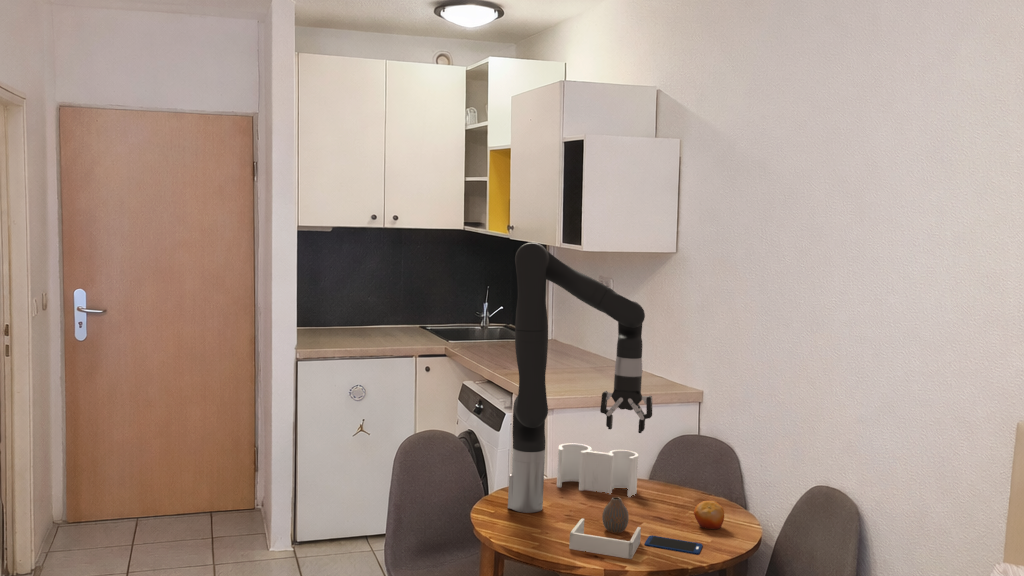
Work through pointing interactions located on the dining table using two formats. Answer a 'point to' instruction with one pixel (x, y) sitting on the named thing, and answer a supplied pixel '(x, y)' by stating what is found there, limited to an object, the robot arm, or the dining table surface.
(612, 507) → the vase
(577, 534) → the frame
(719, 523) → the fruit
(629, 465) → the bracket
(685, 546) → the cell phone
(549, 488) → the dining table surface
